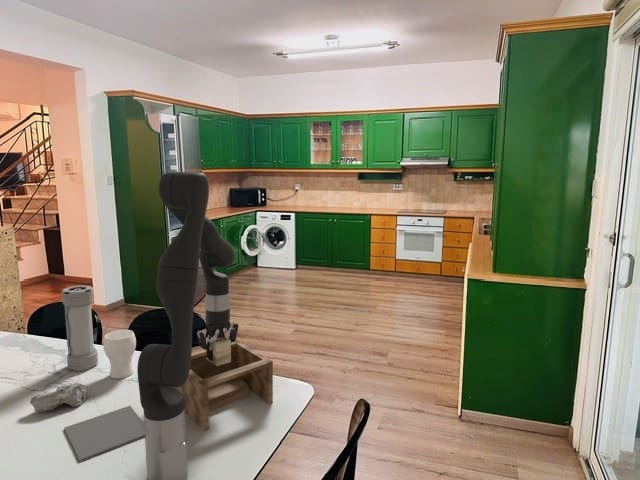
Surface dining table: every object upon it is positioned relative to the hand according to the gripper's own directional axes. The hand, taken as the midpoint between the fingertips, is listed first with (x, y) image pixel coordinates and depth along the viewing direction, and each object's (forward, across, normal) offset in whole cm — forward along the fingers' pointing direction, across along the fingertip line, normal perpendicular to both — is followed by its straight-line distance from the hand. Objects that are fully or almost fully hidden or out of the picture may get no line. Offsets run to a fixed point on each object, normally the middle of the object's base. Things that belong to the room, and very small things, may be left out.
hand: (218, 357), depth 136 cm
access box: (+14, 0, 0) cm, 14 cm away
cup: (+14, -19, +38) cm, 45 cm away
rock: (+15, -39, +27) cm, 50 cm away
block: (+1, 0, 0) cm, 1 cm away
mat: (+14, -33, +4) cm, 36 cm away
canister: (+14, -28, +54) cm, 63 cm away
